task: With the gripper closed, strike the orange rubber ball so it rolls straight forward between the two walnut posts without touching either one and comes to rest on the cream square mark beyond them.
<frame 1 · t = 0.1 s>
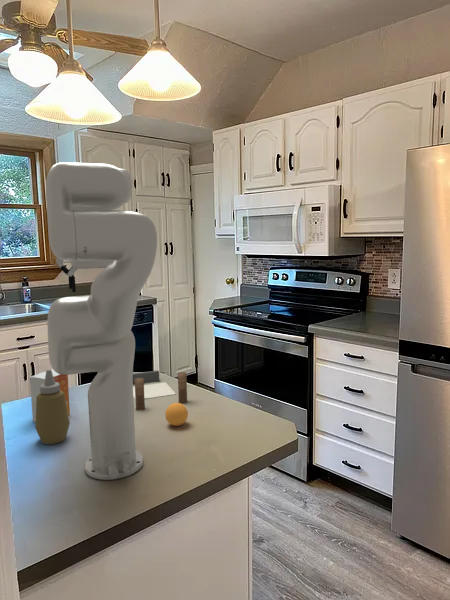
hand: (93, 290, 119), 37 cm above the counter, tool pointing down, fingers open, 9 cm apart
squeeze bottle: (53, 440, 116), on the counter
small box: (51, 419, 130), on the counter
stopper wall: (144, 382, 160), on the counter
ball: (176, 414, 123), on the counter
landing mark: (151, 391, 151), on the counter
left post: (140, 408, 136), on the counter
right post: (182, 401, 141), on the counter
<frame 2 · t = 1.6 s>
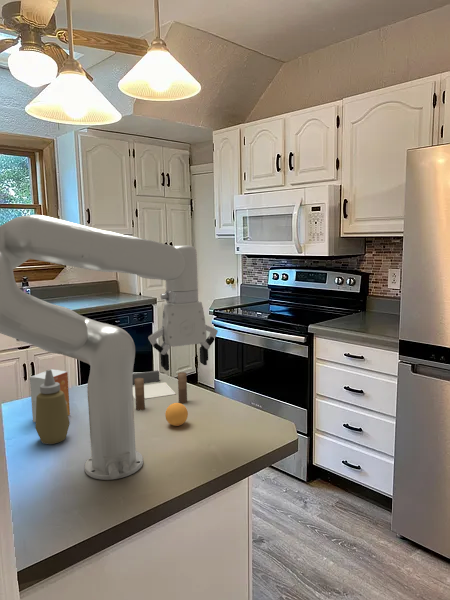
hand: (185, 366, 113), 19 cm above the counter, tool pointing down, fingers open, 9 cm apart
nothing on the counter moved.
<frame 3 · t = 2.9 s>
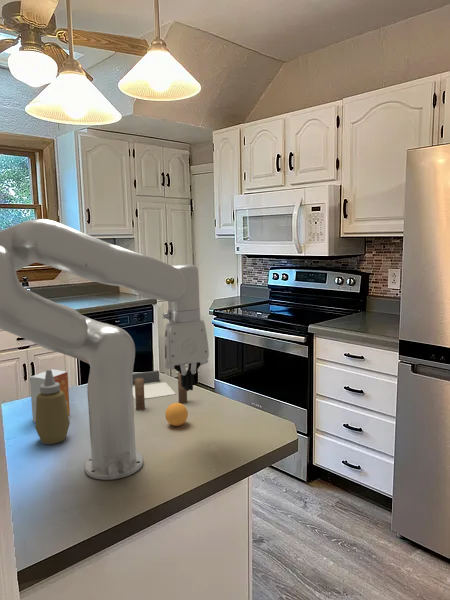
hand: (187, 388, 114), 13 cm above the counter, tool pointing down, fingers closed
nothing on the counter moved.
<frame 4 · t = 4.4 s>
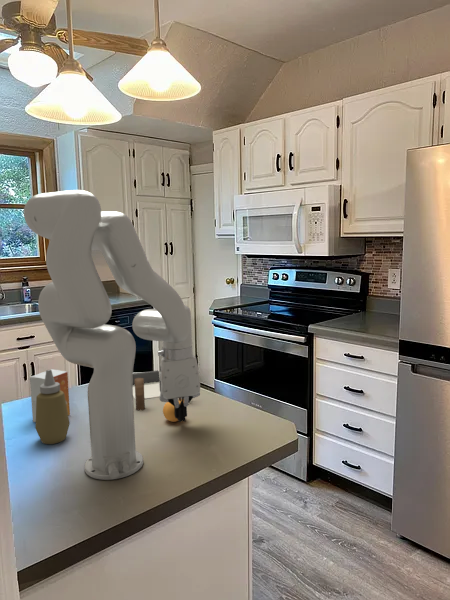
hand: (181, 419, 122), 2 cm above the counter, tool pointing down, fingers closed
ball: (173, 410, 126), on the counter
everything else where it was.
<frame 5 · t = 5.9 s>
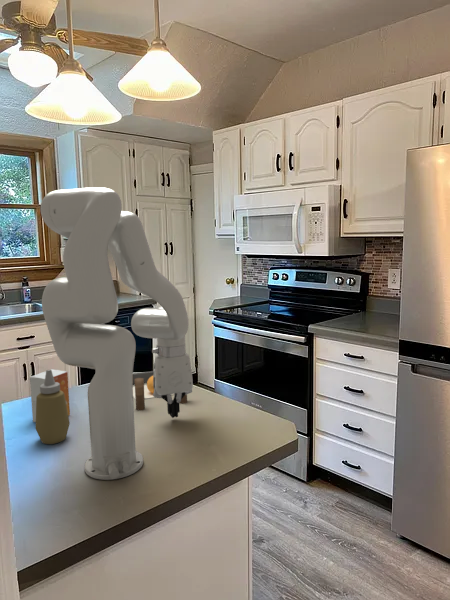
hand: (173, 415, 126), 2 cm above the counter, tool pointing down, fingers closed
ball: (156, 384, 149), on the counter
everything else where it was.
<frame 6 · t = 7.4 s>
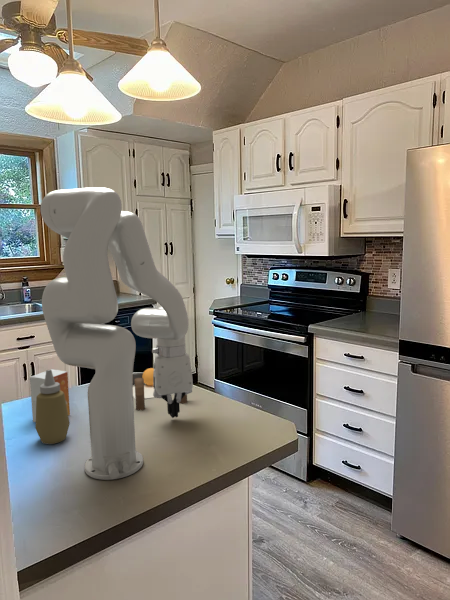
hand: (173, 415, 126), 2 cm above the counter, tool pointing down, fingers closed
ball: (151, 376, 157), on the counter
everything else where it was.
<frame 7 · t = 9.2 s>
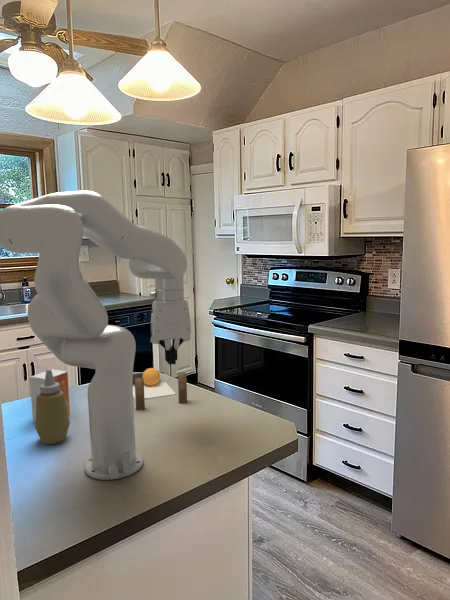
hand: (171, 363, 124), 16 cm above the counter, tool pointing down, fingers closed
nothing on the counter moved.
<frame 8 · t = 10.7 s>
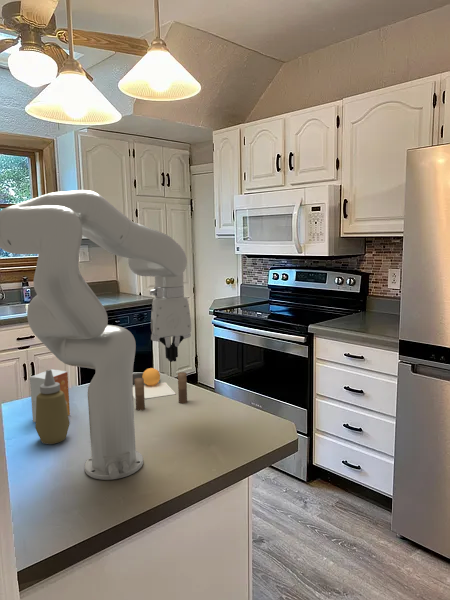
hand: (171, 360, 124), 17 cm above the counter, tool pointing down, fingers closed
nothing on the counter moved.
at the end: ball 6.0 cm from the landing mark (horizontally); ball never touched left post; ball never touched right post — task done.
